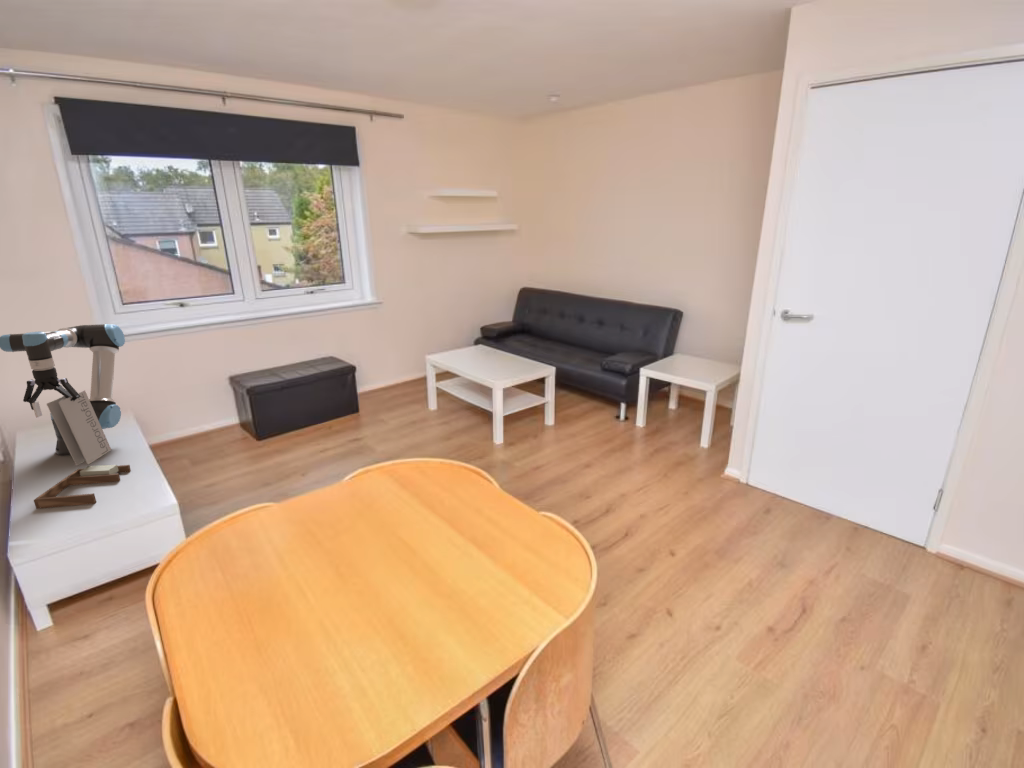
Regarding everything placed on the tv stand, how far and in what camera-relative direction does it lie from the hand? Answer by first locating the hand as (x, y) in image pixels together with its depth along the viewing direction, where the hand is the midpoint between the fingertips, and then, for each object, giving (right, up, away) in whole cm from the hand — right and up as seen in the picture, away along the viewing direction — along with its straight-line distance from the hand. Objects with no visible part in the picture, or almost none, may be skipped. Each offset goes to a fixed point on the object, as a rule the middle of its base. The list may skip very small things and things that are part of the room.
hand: (57, 415), depth 219 cm
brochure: (+9, -20, +9) cm, 24 cm away
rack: (+17, -32, -4) cm, 36 cm away
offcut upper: (+16, -27, +4) cm, 31 cm away
